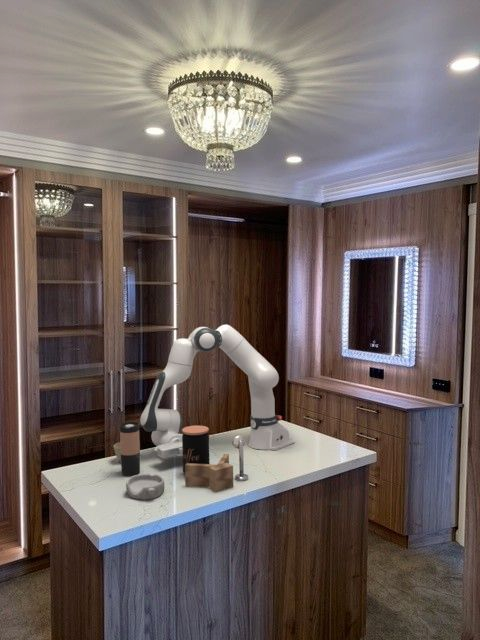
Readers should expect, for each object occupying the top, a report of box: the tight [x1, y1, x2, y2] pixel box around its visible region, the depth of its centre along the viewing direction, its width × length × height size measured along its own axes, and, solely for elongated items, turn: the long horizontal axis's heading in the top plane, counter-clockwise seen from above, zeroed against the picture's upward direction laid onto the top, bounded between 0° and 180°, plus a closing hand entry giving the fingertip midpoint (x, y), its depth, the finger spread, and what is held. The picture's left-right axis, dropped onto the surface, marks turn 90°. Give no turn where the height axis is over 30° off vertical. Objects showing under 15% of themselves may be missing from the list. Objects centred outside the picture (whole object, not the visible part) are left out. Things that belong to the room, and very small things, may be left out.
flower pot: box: [113, 442, 121, 463], centre depth 209 cm, size 10×10×7 cm
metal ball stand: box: [231, 434, 249, 482], centre depth 187 cm, size 5×5×16 cm
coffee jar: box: [181, 425, 210, 475], centre depth 193 cm, size 11×11×18 cm
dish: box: [125, 473, 165, 500], centre depth 176 cm, size 14×14×5 cm
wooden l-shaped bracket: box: [184, 453, 234, 493], centre depth 182 cm, size 20×13×8 cm, turn 125°
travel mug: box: [119, 421, 141, 478], centre depth 194 cm, size 8×8×20 cm
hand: (189, 452), depth 197 cm, fingers closed, pressing on coffee jar
